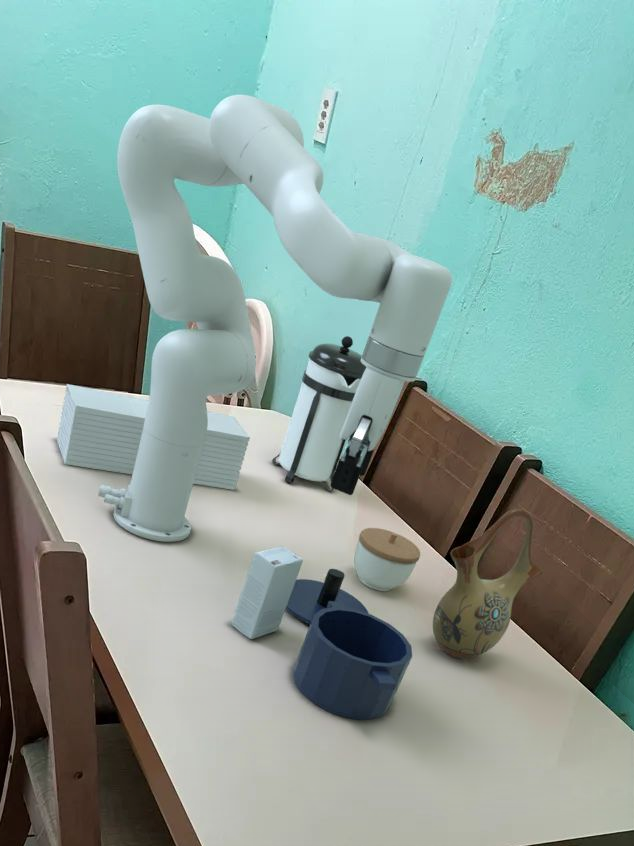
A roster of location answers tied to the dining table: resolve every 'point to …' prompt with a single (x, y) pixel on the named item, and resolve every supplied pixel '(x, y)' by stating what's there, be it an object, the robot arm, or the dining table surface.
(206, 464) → the white ridged box
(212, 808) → the dining table surface
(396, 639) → the pot
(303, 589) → the lid
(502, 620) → the ceramic vessel
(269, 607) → the cosmetic box
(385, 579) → the trinket box
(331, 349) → the coffee press
